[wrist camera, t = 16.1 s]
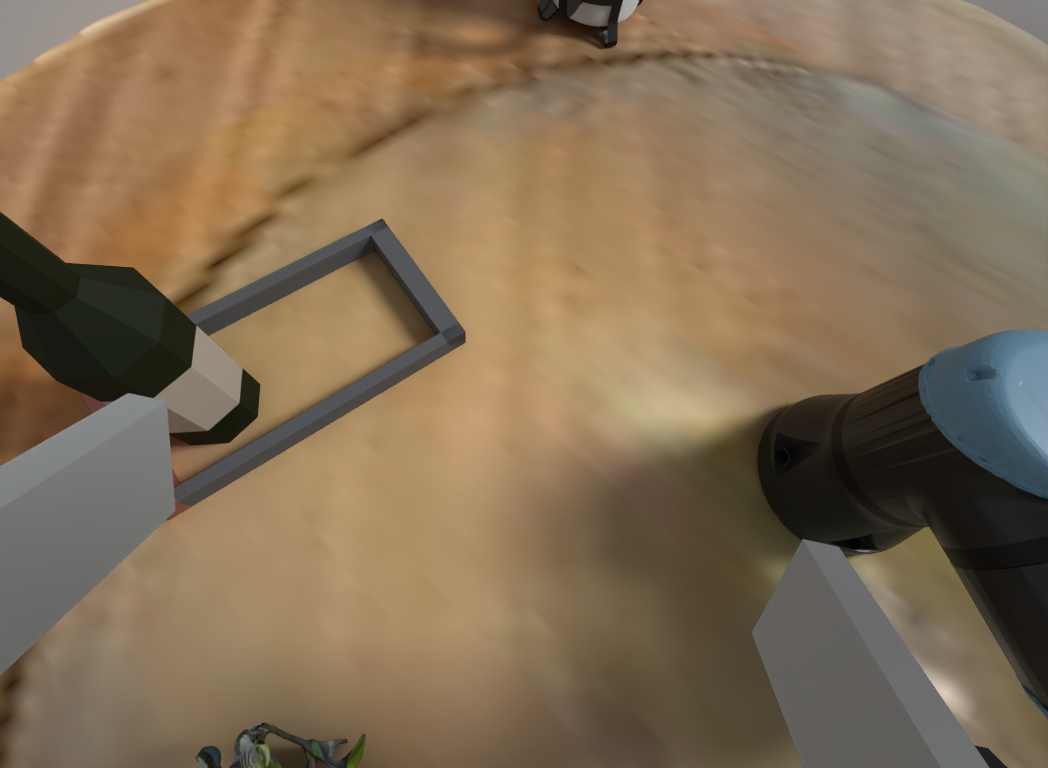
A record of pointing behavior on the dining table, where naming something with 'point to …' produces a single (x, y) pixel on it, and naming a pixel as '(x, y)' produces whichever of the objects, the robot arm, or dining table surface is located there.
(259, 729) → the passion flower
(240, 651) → the dining table surface
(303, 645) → the dining table surface
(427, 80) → the dining table surface
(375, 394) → the frame
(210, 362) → the wine bottle
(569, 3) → the coffee press
